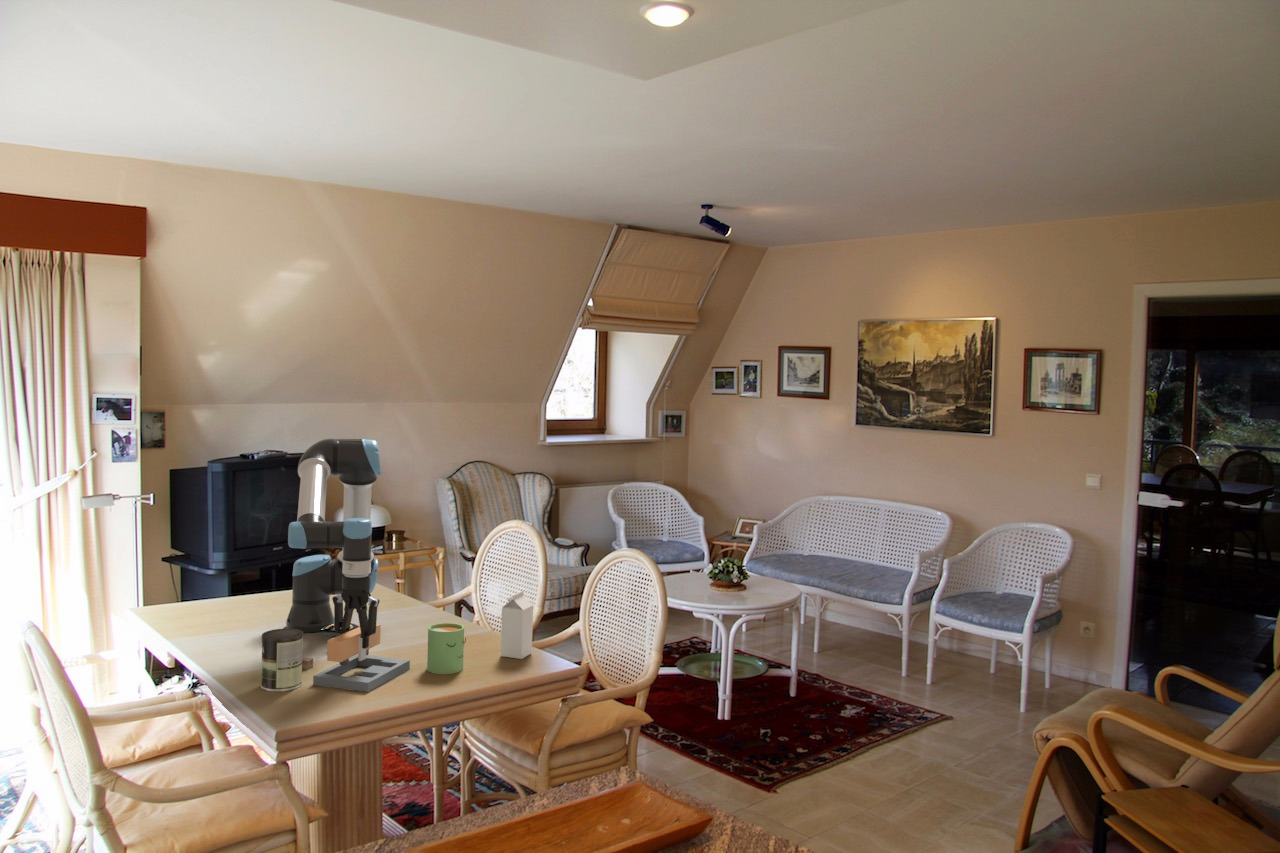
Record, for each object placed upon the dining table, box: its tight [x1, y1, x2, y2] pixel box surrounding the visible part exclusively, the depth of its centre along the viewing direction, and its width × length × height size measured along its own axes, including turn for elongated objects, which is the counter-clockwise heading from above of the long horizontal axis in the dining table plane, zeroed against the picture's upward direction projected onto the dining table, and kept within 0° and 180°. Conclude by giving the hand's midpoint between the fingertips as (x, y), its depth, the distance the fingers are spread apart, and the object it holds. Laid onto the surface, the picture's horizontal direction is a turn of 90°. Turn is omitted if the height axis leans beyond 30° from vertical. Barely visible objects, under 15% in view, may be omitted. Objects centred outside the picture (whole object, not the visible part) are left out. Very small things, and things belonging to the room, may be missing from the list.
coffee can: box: [260, 628, 304, 693], centre depth 247 cm, size 10×10×14 cm
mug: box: [426, 622, 467, 675], centre depth 268 cm, size 13×10×12 cm
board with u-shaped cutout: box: [312, 654, 411, 693], centre depth 257 cm, size 16×22×2 cm
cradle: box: [302, 656, 314, 671], centre depth 272 cm, size 5×20×2 cm, turn 165°
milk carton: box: [500, 590, 534, 660], centre depth 283 cm, size 7×7×19 cm
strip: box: [326, 623, 381, 665], centre depth 258 cm, size 4×20×8 cm, turn 165°
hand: (354, 658), depth 258 cm, fingers closed on strip, 4 cm apart
